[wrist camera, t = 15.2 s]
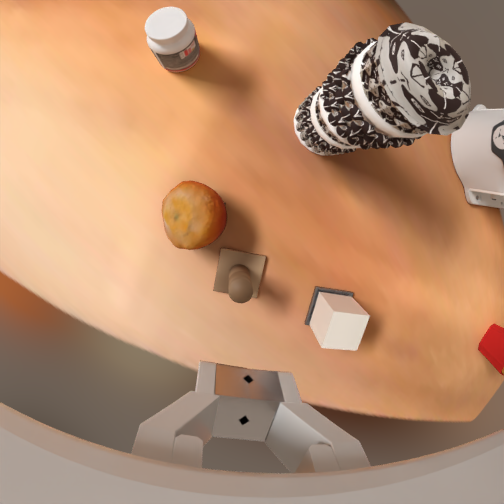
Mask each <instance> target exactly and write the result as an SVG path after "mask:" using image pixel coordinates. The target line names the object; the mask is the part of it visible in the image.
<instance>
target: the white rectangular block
mask: <svg viewBox="0 0 504 504" xmlns="http://www.w3.org/2000/svg"><path fill="white" fill-rule="evenodd" d="M369 317H370V315H369V314H368V313H367V312H366V311H365V310H364V309H363V308H362V307H361V306H360V305H359V304H358V303H357V302H356V301H355V300H354V299H353V298H352V297H351V296H344V295H337V294H331V293H324V292H319V294H318V298H317V301H316V304H315V308H314V311H313V314H312V318H311V321H310V324H309V325H310V327H311V328H312V330H313V332H314V334H315V336H316V338H317V340H318V342H319V344H320V346H321V348H330V349H342V350H356V351H357V349H358V346H359V344H360V341H361V339H362V336H363V333H364V331H365V328H366V325H367V323H368V320H369Z"/></svg>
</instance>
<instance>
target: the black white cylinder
mask: <svg viewBox="0 0 504 504" xmlns="http://www.w3.org/2000/svg"><path fill="white" fill-rule="evenodd" d="M470 92H471V85H470V81H469V76H468V72H467V70H466V67H465V66H464V64H463V62H462V60H461V58H460V56H459V55H458V54H457V53H456V51H455V50H454V49H453V48H452V47H451V46H450V44H448V43H447V42H445V41H444V40H443V39H441V38H440V37H438V36H437V35H435V34H434V33H432V32H431V31H429V30H428V29H426V28H424V27H421V26H418V25H414V24H410V23H401V24H395V25H390V26H389V27H388V28H387V29H386V30H385V31H384V32H383V33H382V34H381V35H380V36H379V38H378V40H376V39H374V38H371V39H368V40H367V43H365V44H363V43H362V42H358V43H356V44H355V46H354V47H353V48H351V49H350V51H349V53H348V54H346V56H345V58H343V59H341V60H340V61H339V64H338V65H337V67H336V69H334V70H333V71H332V72H331V73H329V74H328V76H327V80H326V81H324V82H323V85H322V87H321V86H319V87H317V88H316V90H314V91H313V92H312V94H309V95H308V97H307V98H306V99H305V101H303V102H302V103H301V104H300V105H299V107H298V109H297V111H296V114H295V117H294V128H295V133H296V135H297V137H298V139H299V141H300V143H301V144H302V145H304V146H305V147H306V148H307V149H308V150H309V151H311V152H314V153H316V154H319V155H327V156H328V155H335V154H336V155H339V154H344V153H348V152H354V151H355V150H356V148H362V149H369V148H375V149H378V148H380V147H381V148H388V147H389V146H390V145H391V146H392V147H394V148H398V147H401V146H402V145H403V144H404V145H406V146H409V145H411V144H413V143H414V140H415V139H419V138H421V137H422V136H423V135H425V134H427V133H429V134H439V135H449V134H451V133H453V132H455V131H457V130H459V129H461V127H462V125H463V124H464V122H465V120H466V119H467V117H468V115H469V109H470V100H471V94H470Z"/></svg>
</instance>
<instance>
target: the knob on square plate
mask: <svg viewBox="0 0 504 504" xmlns="http://www.w3.org/2000/svg"><path fill="white" fill-rule="evenodd" d="M265 258H266V256H264V255H259V254H253V253H248V252H242V251H237V250H232V249H226V248H221V251H220V257H219V262H218V268H217V273H216V279H215V284H214V290H213V291H218V292H223V293H229V296H230V298H231V299H232V300H233V301H234V302H237V303H245V302H247V301H249V300H250V299H251V297H253V298H257V294H258V289H259V285H260V281H261V276H262V272H263V267H264V263H265Z"/></svg>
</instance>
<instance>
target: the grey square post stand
mask: <svg viewBox="0 0 504 504" xmlns="http://www.w3.org/2000/svg"><path fill="white" fill-rule="evenodd" d="M319 292H324V293H331V294H337V295H344V296H351V297H352V296H353V292H350V291H344V290H337V289H331V288H325V287H319V286H315V289H314V293H313V296H312V300H311V303H310V307H309V310H308V314H307V317H306V320H305V325H309V324H310V321H311V318H312V314H313V311H314V308H315V304H316V301H317V298H318V294H319Z"/></svg>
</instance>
